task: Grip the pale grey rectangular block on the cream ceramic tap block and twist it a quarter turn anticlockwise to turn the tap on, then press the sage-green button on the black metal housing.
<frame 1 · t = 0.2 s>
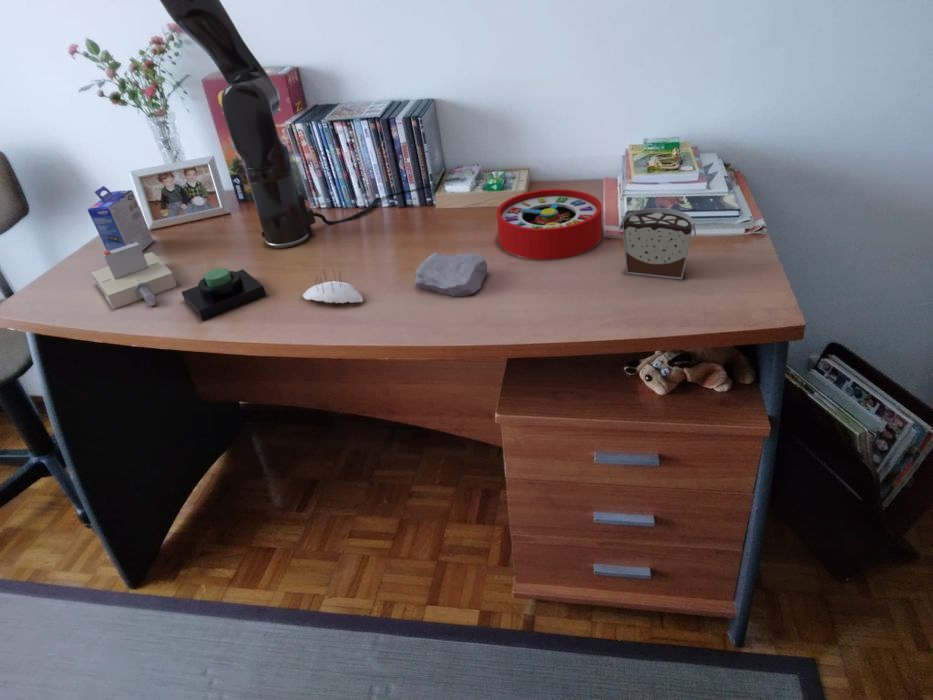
pale grey rectangular block: (125, 259, 130), point 6 cm above the table, hinge at 0.0°
toy clock: (549, 237, 132), on the table
spout: (146, 297, 128), on the table
stone block: (450, 284, 120), on the table
pincushion: (333, 301, 120), on the table
food container: (657, 269, 117), on the table
tap block: (136, 285, 133), on the table
button housing: (225, 299, 124), on the table
push button: (218, 277, 122), point 4 cm above the table, slide at 0.1 cm
ink cartridge box: (132, 252, 148), on the table
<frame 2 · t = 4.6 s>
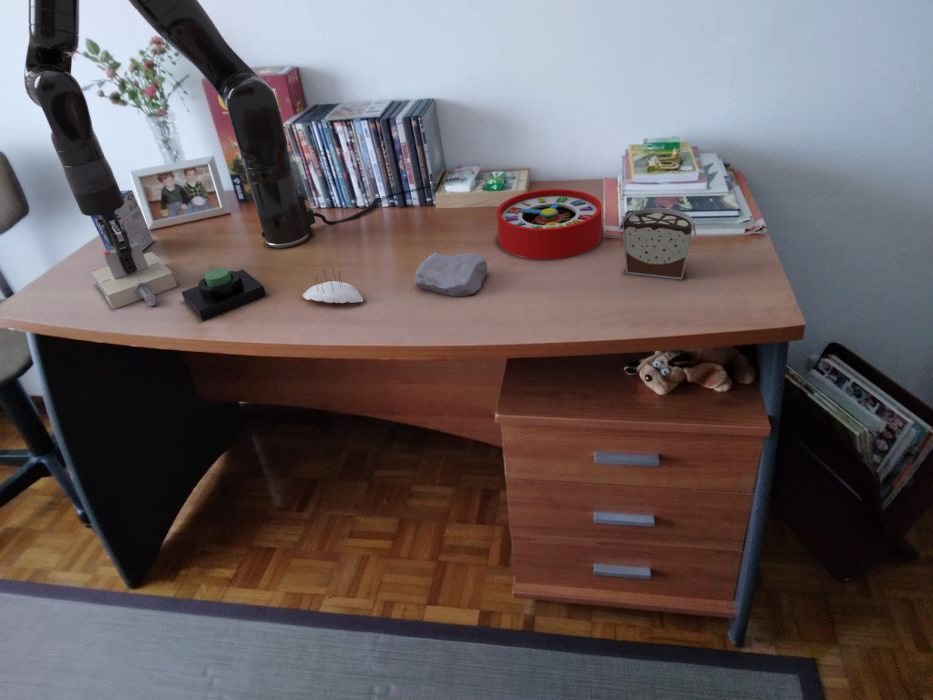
hand: (129, 269, 131), 4 cm above the table, tool pointing down, fingers closed on pale grey rectangular block, 2 cm apart
pale grey rectangular block: (125, 259, 130), point 6 cm above the table, hinge at 0.0°, touching gripper
everything else where it was.
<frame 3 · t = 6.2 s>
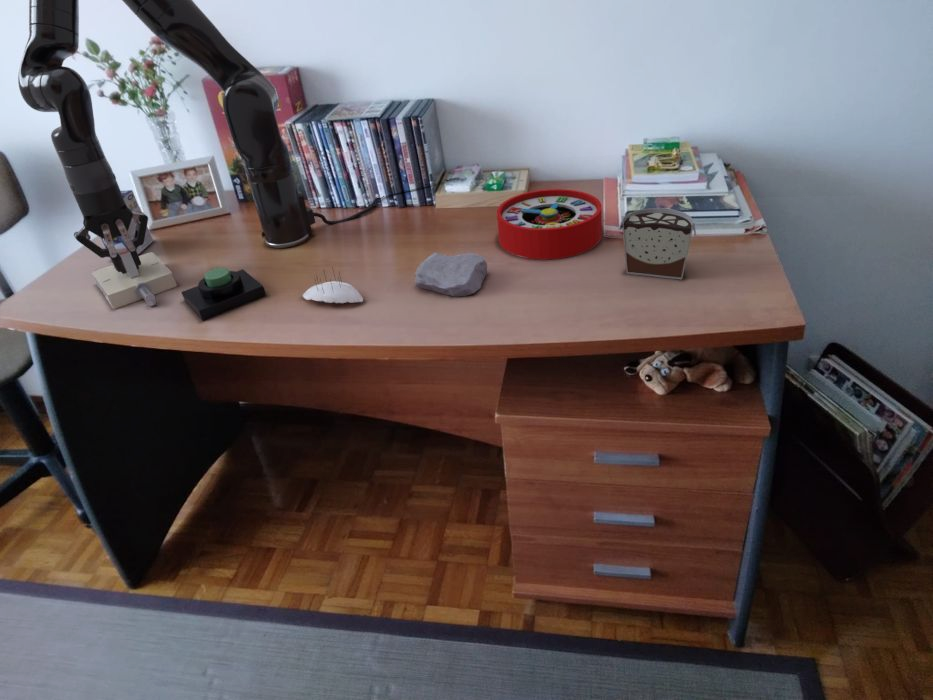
hand: (129, 269, 131), 4 cm above the table, tool pointing down, fingers closed on pale grey rectangular block, 2 cm apart
pale grey rectangular block: (125, 259, 130), point 6 cm above the table, hinge at 89.8°, touching gripper
everything else where it was.
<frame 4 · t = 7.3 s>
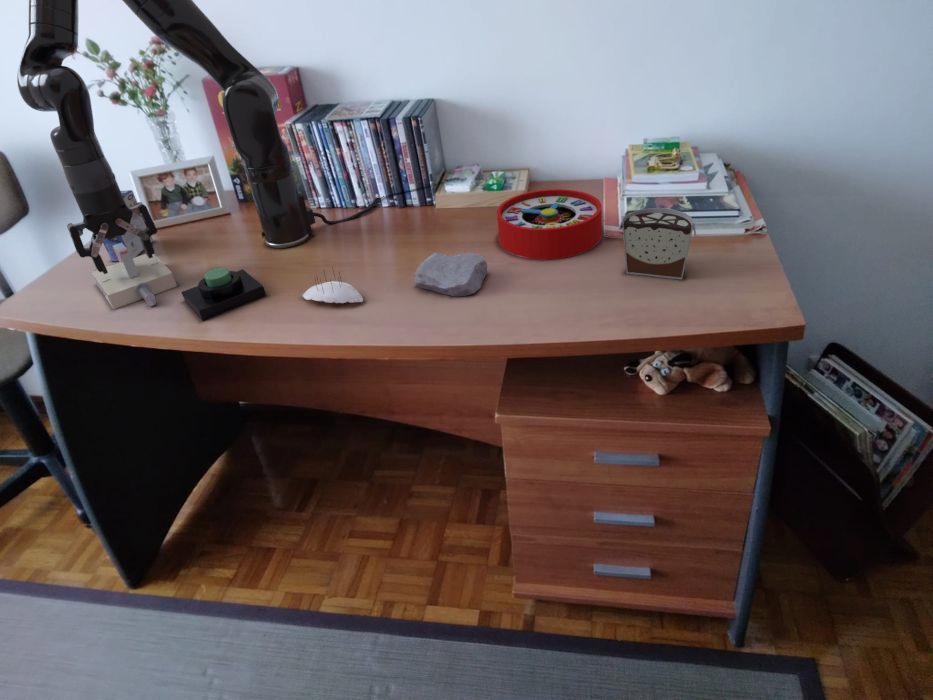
hand: (127, 264, 130), 5 cm above the table, tool pointing down, fingers open, 8 cm apart
pale grey rectangular block: (125, 259, 130), point 6 cm above the table, hinge at 89.7°
everything else where it was.
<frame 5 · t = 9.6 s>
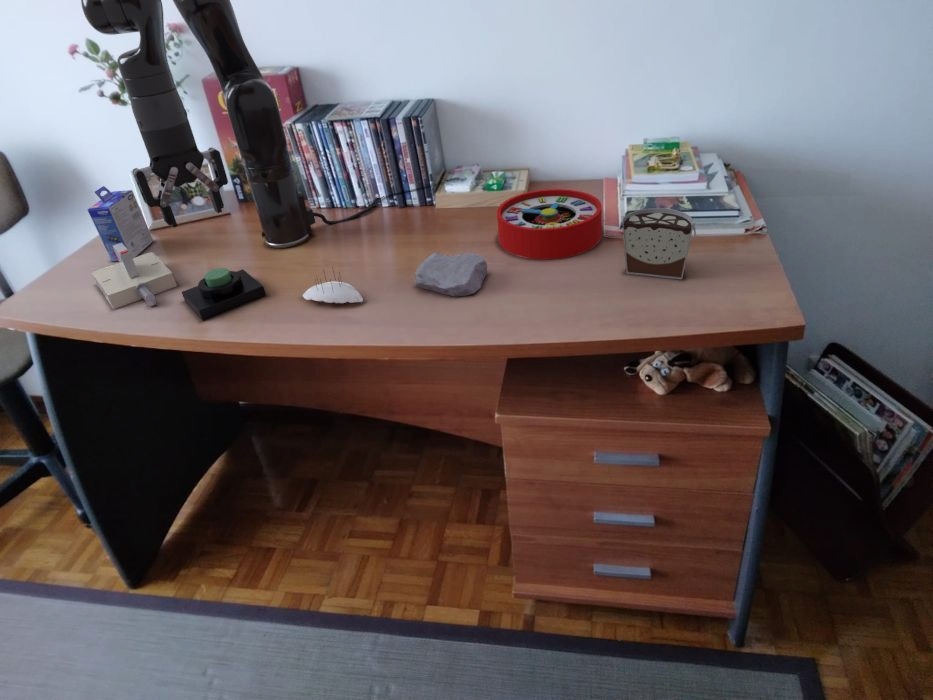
hand: (196, 218, 116), 16 cm above the table, tool pointing down, fingers open, 7 cm apart
nothing on the table moved.
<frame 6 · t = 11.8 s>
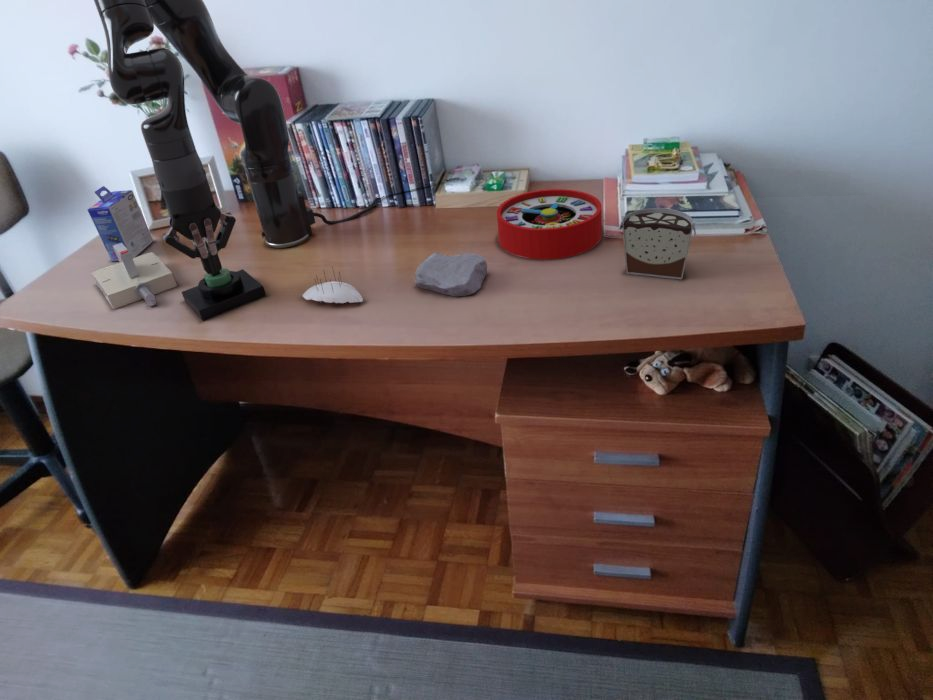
hand: (214, 273, 121), 5 cm above the table, tool pointing down, fingers closed
push button: (218, 277, 122), point 4 cm above the table, slide at 0.1 cm, touching gripper
everything else where it was.
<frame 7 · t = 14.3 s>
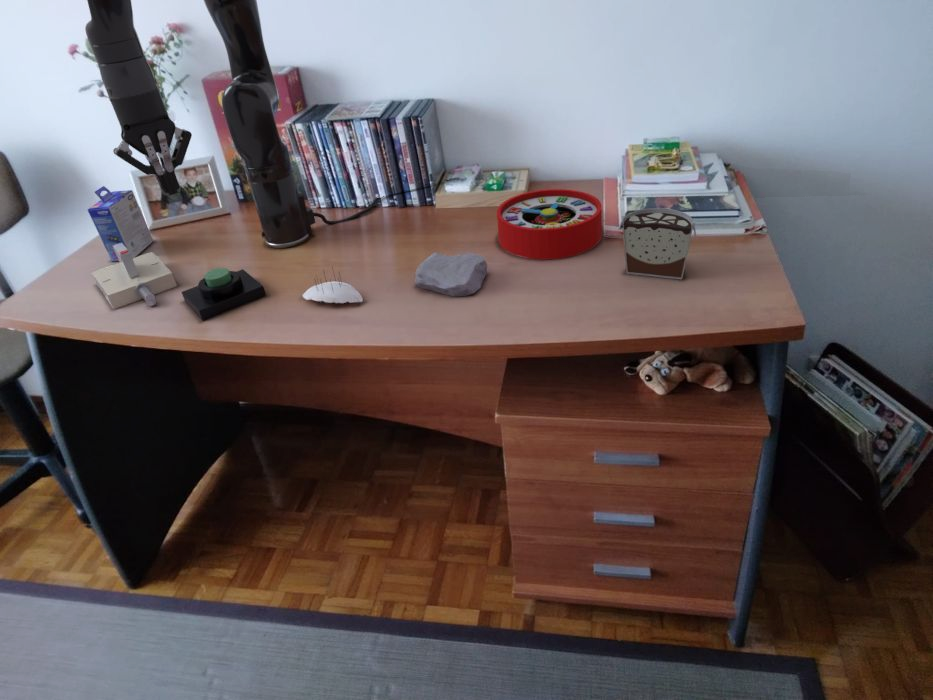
hand: (172, 193, 117), 20 cm above the table, tool pointing down, fingers closed
push button: (218, 277, 122), point 4 cm above the table, slide at 0.1 cm
everything else where it was.
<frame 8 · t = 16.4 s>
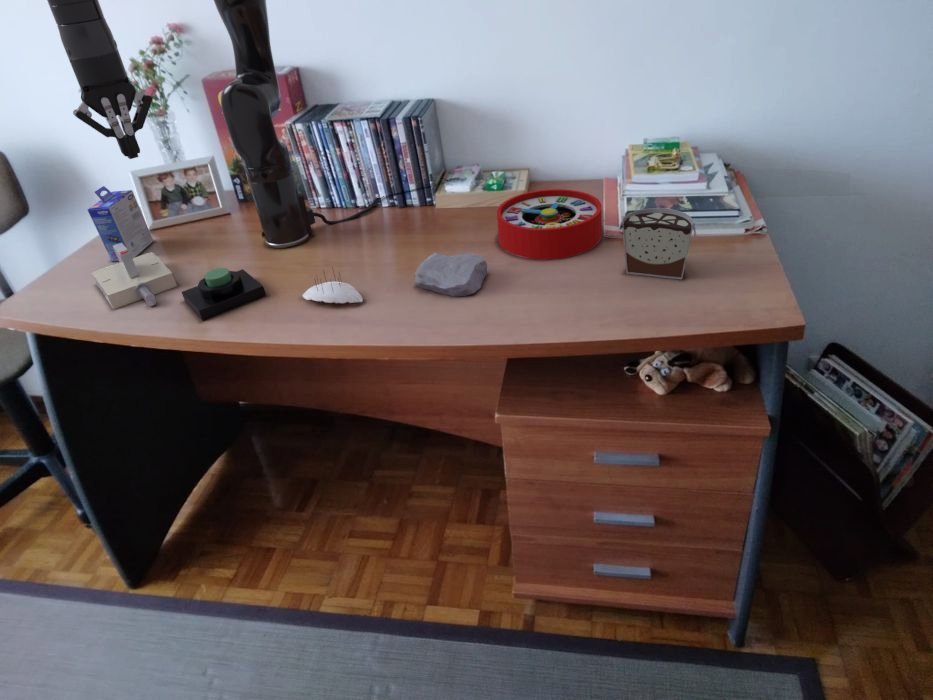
hand: (132, 157, 118), 25 cm above the table, tool pointing down, fingers closed
nothing on the table moved.
at the end: pale grey rectangular block at +90° (first picture: +0°); push button pushed in 1.1 cm at the most during the clip, back to where it started at the end; push button slide at 0.1 cm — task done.
